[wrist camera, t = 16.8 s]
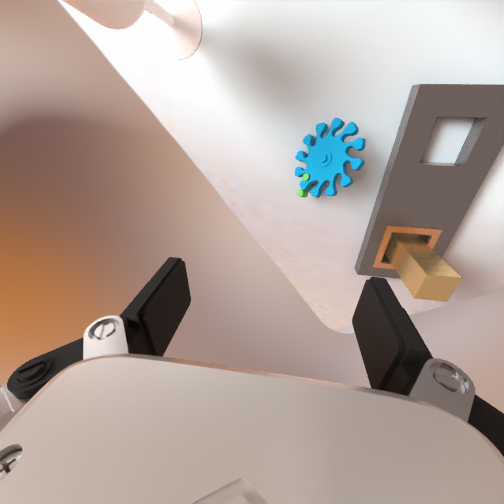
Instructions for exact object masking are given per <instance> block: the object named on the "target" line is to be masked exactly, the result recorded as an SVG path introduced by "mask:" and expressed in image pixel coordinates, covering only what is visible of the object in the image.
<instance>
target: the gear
mask: <svg viewBox="0 0 504 504" xmlns="http://www.w3.org/2000/svg"><path fill="white" fill-rule="evenodd" d="M343 126H344V122H343V121H342V120H341V119H339V118H334V120H333V121H332V126H331V129H330V131H329V133H328V134H327V135H326V137H325V138H323V135H324V134H325V132H326V131H327V129H328V125H327V124H325V123H320V124H318V125H317V126H316V130H317V140H316V144H315V145H314V146H313V142H314V137H313V136H312V135H310V134H309V135H307V136H306V137H305V138H304V139H303V143H304V144H306V145H307V147H308V150H309V155H308V157H307V158H306V153H305V152H303V151H299V152H298V153H297V155H296V159H297V160H299V161H304V162H305V163H306V164H307V168H306V170H304V169H303V168H300V167H297V168H296V170H295V176H298V177H302V176H303V181H301V182H300V186H301V189H302V190H301V189H300V190H298V192H297V195H298V196H299V197H307V195H308V192H310V193H311V195H313V196H314V197H318V198H319V197H320V196H321V192H322V189H323V187H324V185H325V184H326V183H327V182H328V181H330V185H329V186H328V188H327V189H326V190H325V195H329V196H335V195H336V194H337V190H336V180H337V177H338V176H339V175H340V174H341V175H342V178H341V181H340V185H341V186H342V187H348V186H349V185H351V184H352V183H353V179H352V178H350V177H349V176H348V175H347V172H346V164H347V163H348V162H351V167H352V169H354V170H357V171H359V170H360V169H361V168H362V166H363V164H364V161H363V160H362V159H360V158H351V157H350V156H349V154H348V151H349V149H350V148H352V147H354V148H355V149H356V150H358V151H362V150H364V148H365V139H363V138H358V139H356V140H355V141H353V142H349V143H344V139H345V138H346V137H347V136H354V135H356V134H357V133H358V128H357V126H356V124H354V123H353V122H351V123H349V124H348V126H347V127H346V129H345V130H344V131H343V132H342V133H341V134H339V135H337V136H335V133H336V131H338V130H340V129H341V128H342V127H343Z"/></svg>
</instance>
